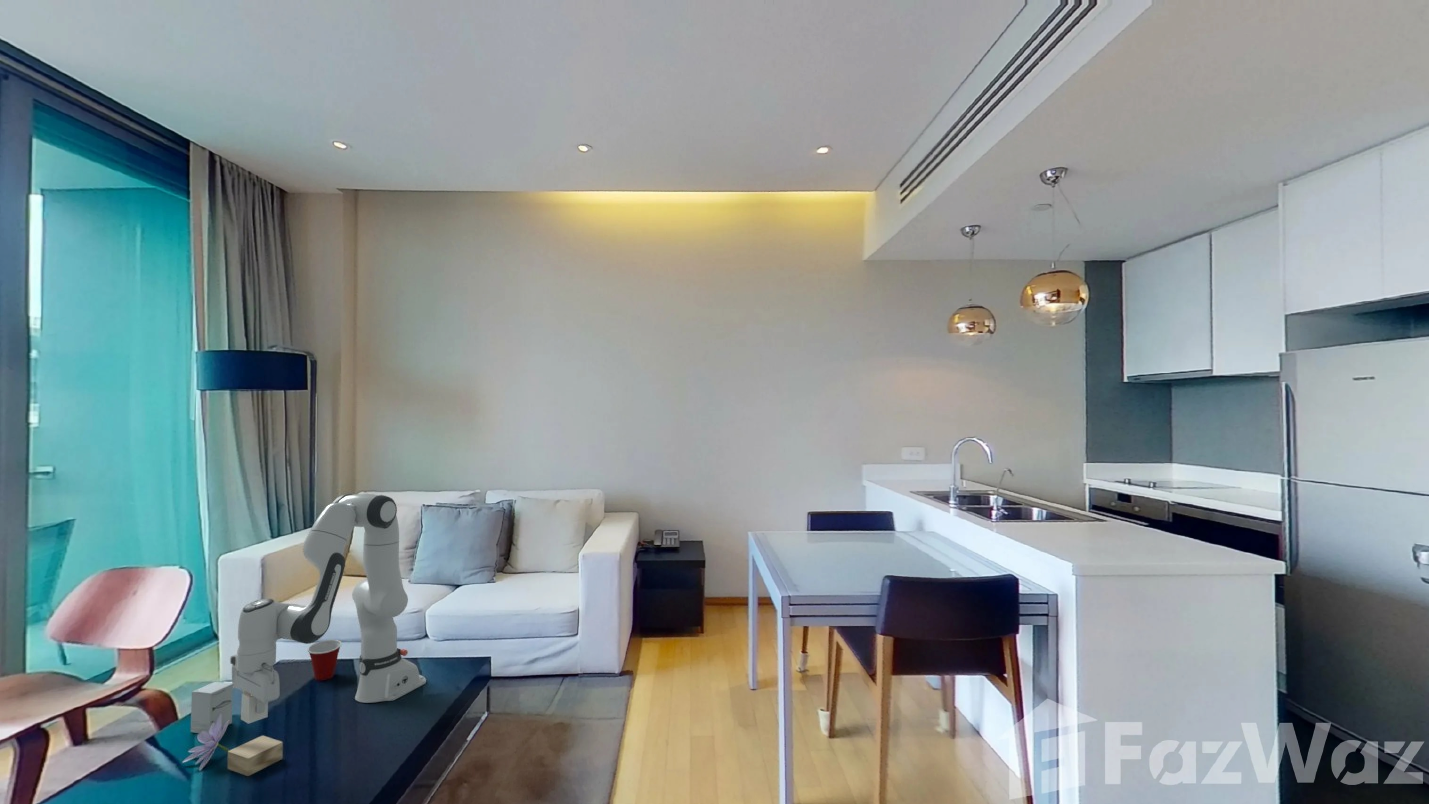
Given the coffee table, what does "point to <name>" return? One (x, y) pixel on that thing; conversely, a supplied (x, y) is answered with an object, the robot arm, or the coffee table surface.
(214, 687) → the supplement box
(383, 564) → the robot arm
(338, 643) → the plastic cup
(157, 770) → the coffee table surface
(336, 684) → the coffee table surface
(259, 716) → the pale two-tone block
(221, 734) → the water lily
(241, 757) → the oak block
